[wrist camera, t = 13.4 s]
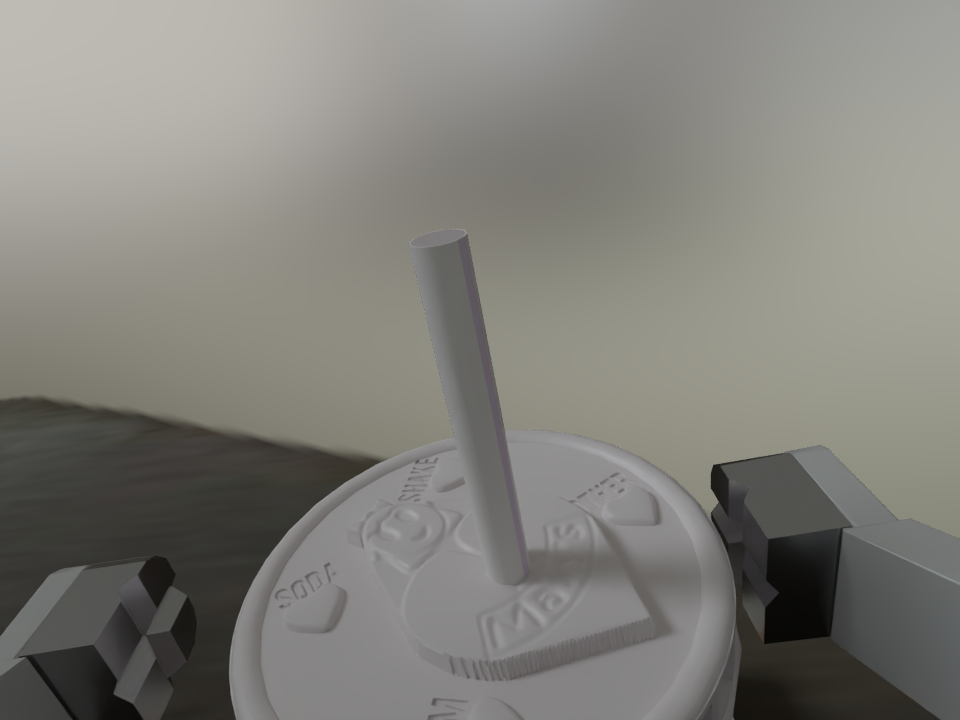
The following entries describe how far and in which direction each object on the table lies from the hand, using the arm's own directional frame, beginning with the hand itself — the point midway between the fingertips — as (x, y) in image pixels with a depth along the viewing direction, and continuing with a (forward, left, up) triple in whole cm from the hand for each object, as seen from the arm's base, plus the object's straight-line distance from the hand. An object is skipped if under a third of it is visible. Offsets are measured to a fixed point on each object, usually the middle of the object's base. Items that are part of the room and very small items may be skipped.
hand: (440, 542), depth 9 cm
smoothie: (+1, -1, -9) cm, 9 cm away
